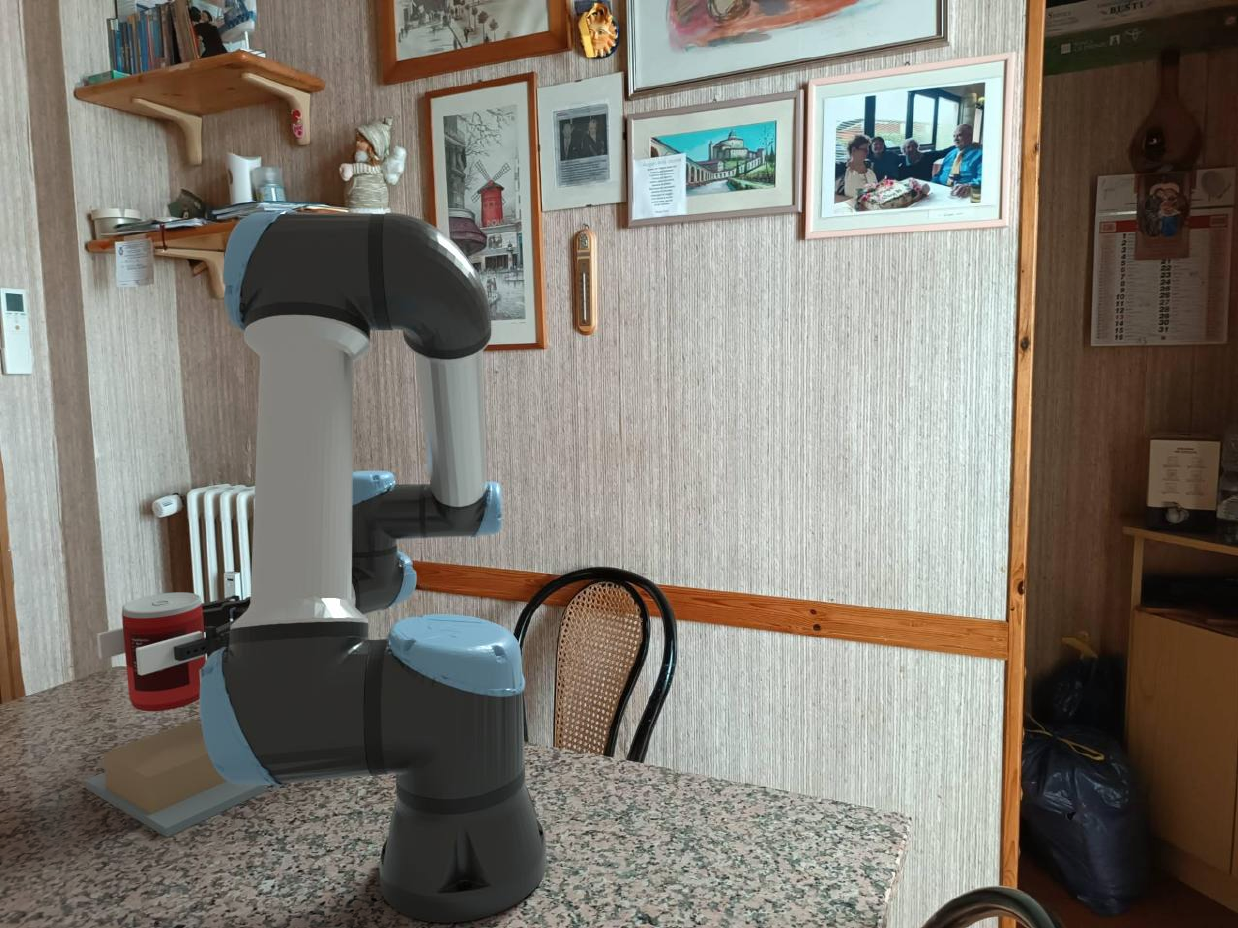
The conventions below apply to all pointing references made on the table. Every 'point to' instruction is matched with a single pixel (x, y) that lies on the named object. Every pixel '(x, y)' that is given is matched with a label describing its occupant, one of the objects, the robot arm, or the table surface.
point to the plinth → (181, 808)
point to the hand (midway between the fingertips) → (118, 653)
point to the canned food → (155, 624)
